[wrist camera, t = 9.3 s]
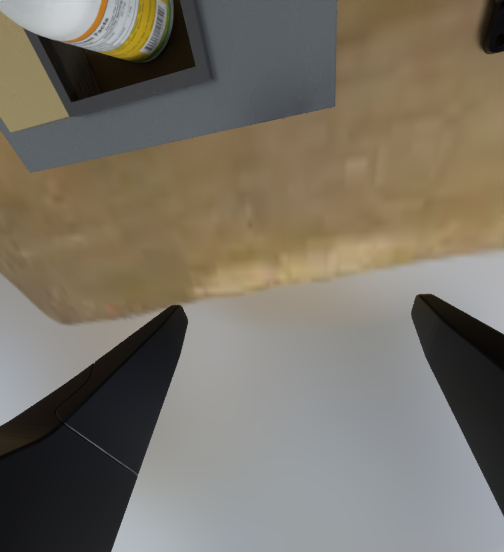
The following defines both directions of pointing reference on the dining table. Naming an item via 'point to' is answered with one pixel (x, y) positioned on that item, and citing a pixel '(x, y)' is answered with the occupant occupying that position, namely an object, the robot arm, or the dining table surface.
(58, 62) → the grey base block
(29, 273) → the dining table surface
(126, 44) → the supplement bottle
